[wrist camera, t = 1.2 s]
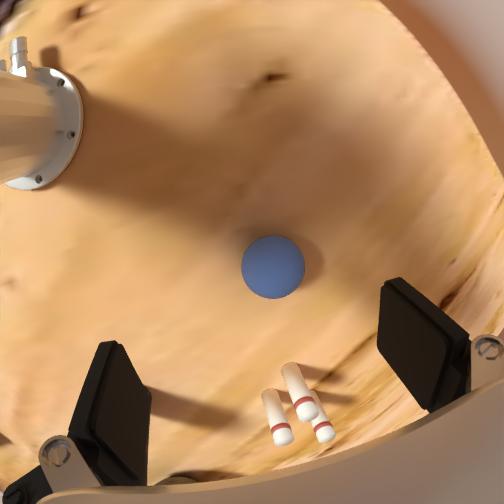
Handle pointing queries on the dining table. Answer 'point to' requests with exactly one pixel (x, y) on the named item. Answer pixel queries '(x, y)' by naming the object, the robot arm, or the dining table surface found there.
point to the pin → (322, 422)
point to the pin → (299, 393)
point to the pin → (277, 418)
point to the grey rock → (176, 481)
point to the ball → (273, 267)
